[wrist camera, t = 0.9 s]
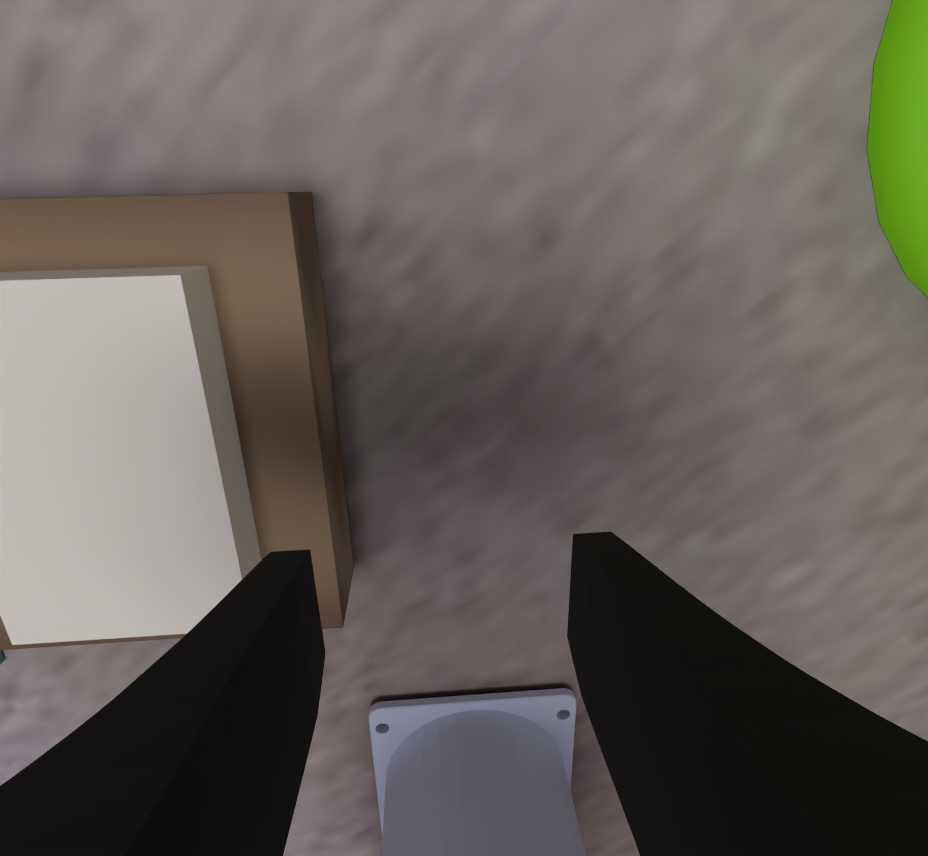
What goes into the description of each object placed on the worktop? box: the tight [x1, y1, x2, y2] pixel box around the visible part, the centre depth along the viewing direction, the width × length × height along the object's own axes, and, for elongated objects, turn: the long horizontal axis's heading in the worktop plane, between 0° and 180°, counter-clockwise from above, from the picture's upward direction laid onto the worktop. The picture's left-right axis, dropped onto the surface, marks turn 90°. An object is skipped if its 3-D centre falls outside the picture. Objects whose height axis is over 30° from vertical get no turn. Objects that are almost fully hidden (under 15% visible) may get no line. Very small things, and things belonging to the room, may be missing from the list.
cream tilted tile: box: [0, 266, 261, 645], centre depth 14 cm, size 9×6×2 cm, turn 1°
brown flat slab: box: [0, 192, 354, 650], centre depth 16 cm, size 12×12×3 cm
